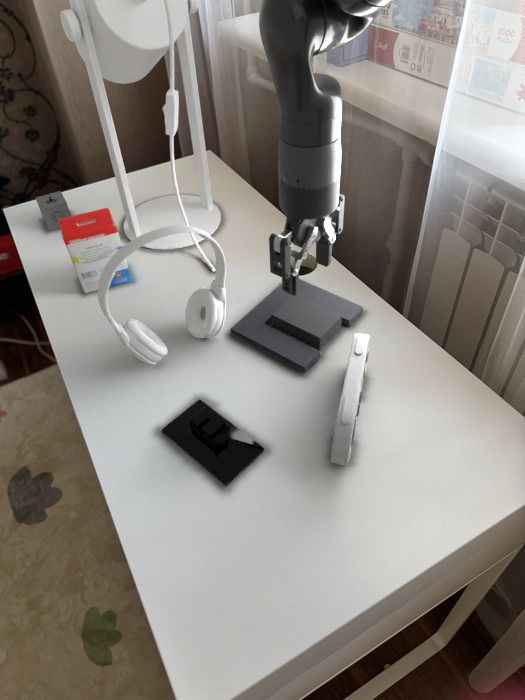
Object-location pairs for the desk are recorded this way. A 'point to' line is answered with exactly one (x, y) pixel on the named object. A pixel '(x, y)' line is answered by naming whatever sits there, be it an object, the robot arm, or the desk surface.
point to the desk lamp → (134, 64)
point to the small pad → (306, 321)
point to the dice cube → (53, 209)
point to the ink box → (93, 247)
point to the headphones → (201, 308)
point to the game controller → (350, 400)
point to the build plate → (213, 441)
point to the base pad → (281, 344)
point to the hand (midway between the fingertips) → (307, 277)
